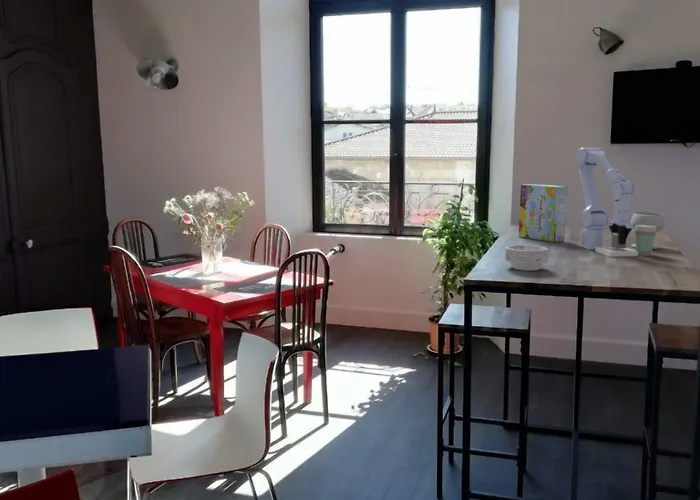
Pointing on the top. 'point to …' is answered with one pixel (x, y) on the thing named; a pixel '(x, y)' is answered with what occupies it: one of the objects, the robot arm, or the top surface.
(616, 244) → the plug
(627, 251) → the socket plate
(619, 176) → the robot arm
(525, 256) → the white round bowl
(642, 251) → the coffee cup
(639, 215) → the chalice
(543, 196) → the snack box
